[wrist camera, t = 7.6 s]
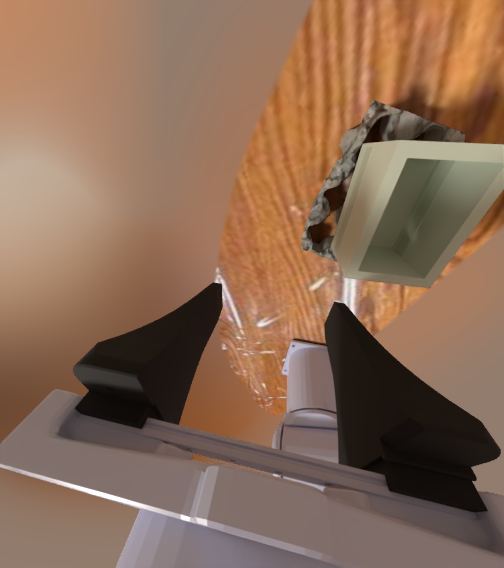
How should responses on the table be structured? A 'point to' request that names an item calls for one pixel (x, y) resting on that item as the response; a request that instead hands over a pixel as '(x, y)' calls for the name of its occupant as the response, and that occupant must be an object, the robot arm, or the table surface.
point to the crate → (414, 208)
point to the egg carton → (391, 129)
